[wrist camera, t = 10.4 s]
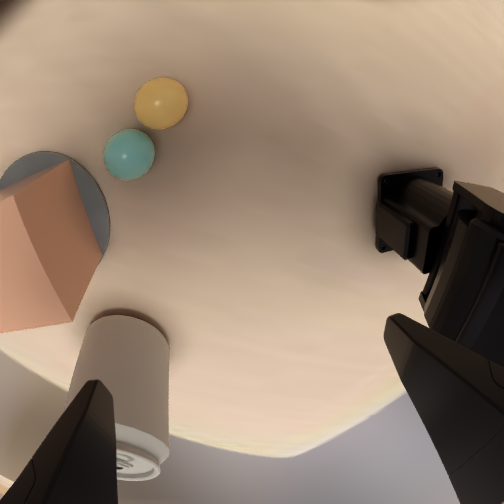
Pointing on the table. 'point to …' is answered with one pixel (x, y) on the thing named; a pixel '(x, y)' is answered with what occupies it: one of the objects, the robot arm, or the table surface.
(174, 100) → the marble amber
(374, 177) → the table surface
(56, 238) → the peach beveled cube
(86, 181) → the coaster
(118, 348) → the can
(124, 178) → the marble teal
